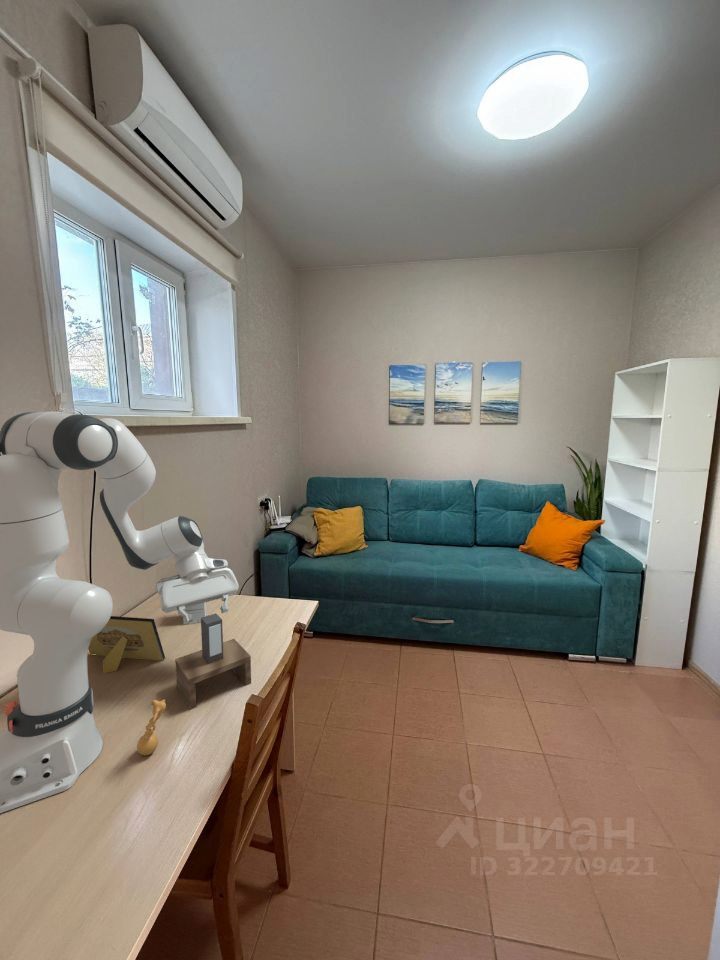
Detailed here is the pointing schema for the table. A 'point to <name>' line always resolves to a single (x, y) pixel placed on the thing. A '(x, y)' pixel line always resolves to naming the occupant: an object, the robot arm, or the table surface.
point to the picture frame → (127, 641)
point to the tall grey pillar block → (212, 638)
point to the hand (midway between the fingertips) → (207, 617)
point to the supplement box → (196, 612)
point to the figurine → (151, 730)
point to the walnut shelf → (210, 669)
